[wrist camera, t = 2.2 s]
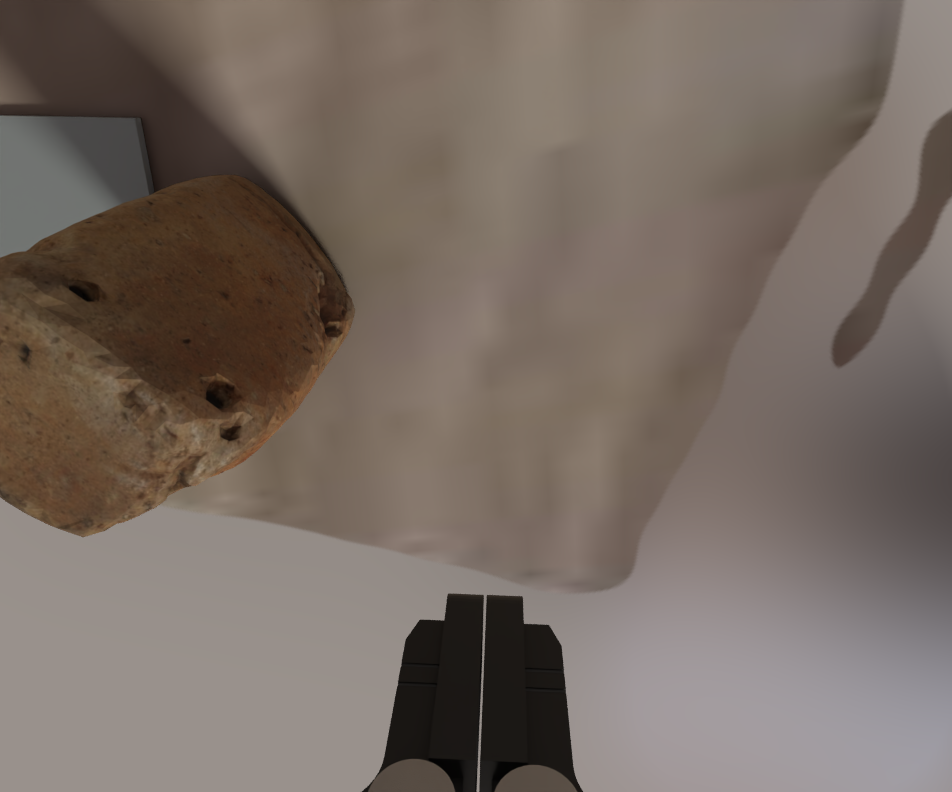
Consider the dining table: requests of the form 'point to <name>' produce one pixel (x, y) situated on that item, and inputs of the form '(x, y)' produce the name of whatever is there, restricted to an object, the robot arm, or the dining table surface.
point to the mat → (66, 173)
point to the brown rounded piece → (157, 348)
